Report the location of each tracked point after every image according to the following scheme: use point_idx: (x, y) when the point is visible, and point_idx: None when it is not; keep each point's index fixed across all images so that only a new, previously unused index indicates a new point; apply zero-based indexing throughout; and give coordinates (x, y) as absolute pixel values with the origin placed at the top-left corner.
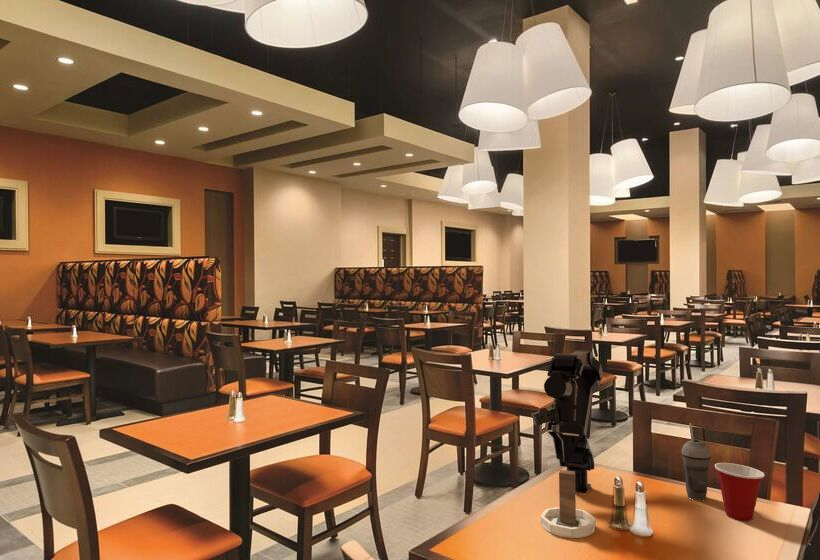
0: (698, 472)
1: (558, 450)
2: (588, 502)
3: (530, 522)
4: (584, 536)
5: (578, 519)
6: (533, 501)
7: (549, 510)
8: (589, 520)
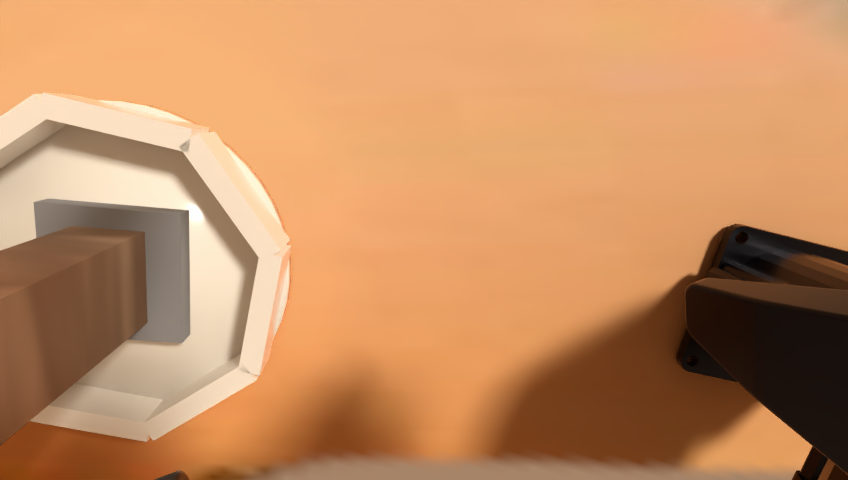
0: None
1: (806, 356)
2: (536, 374)
3: (99, 20)
4: None
5: (154, 337)
6: (479, 20)
7: (185, 153)
8: (178, 395)
